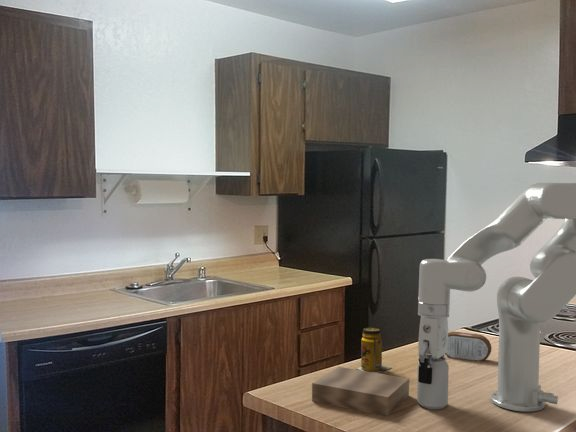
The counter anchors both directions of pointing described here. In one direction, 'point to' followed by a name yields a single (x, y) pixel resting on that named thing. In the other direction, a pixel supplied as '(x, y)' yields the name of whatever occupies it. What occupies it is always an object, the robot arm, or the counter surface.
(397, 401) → the chopping block
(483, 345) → the tin
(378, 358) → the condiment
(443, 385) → the can
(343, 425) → the counter surface
